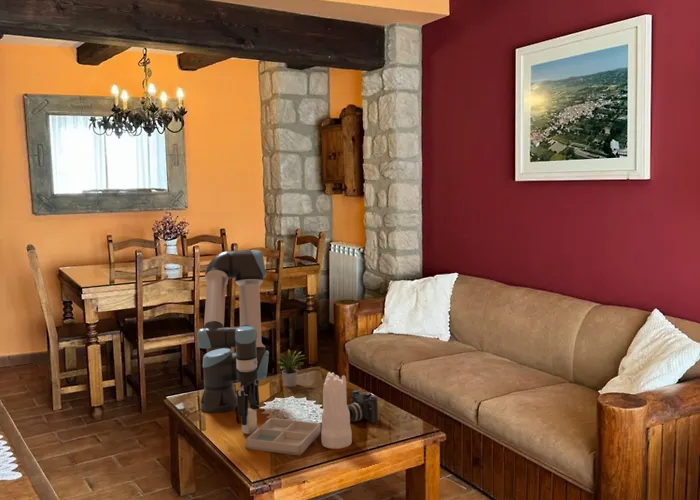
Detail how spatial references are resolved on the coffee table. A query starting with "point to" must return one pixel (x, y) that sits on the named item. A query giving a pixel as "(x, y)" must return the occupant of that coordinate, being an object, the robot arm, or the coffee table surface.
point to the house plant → (290, 368)
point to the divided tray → (284, 436)
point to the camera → (363, 406)
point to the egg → (252, 421)
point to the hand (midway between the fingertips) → (249, 429)
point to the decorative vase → (335, 414)
